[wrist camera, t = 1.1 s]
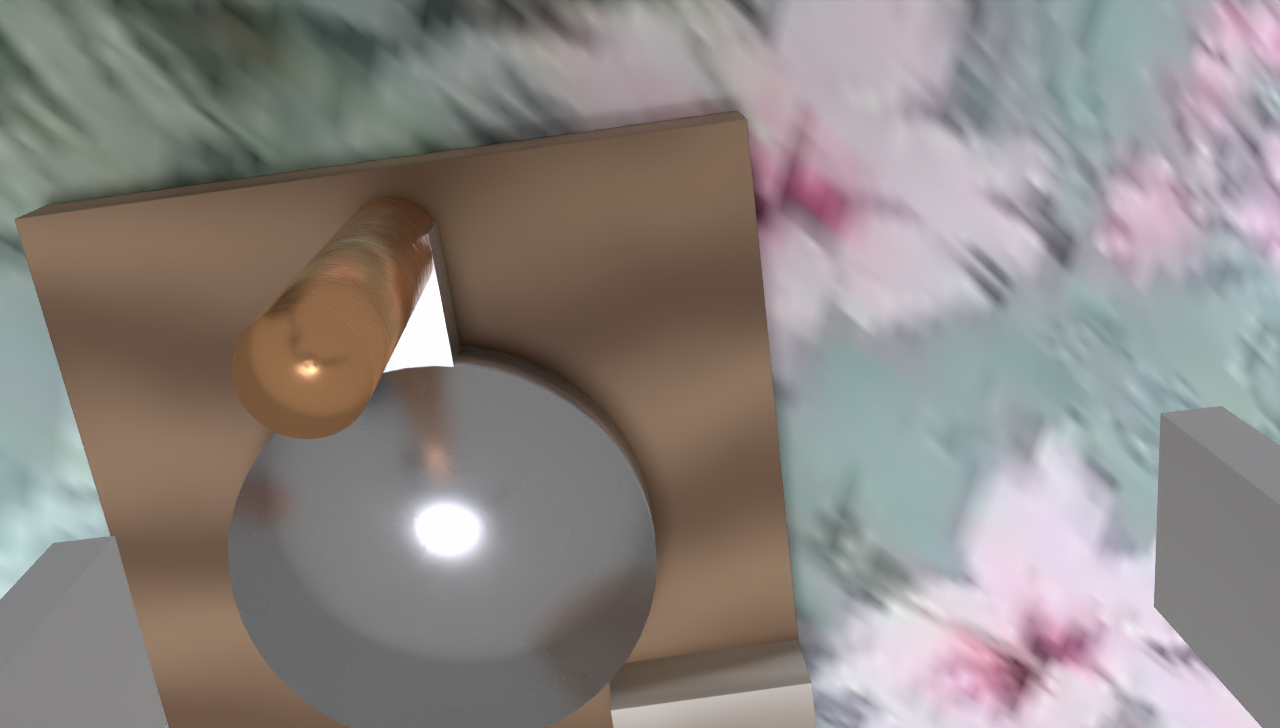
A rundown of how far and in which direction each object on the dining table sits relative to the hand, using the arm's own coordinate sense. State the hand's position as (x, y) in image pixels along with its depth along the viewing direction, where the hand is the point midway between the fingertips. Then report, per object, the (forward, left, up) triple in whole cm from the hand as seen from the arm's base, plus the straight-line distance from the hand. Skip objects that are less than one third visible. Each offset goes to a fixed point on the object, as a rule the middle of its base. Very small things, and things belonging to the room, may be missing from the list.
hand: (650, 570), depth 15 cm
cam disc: (+6, -6, -19) cm, 21 cm away
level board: (+8, -6, -21) cm, 23 cm away
